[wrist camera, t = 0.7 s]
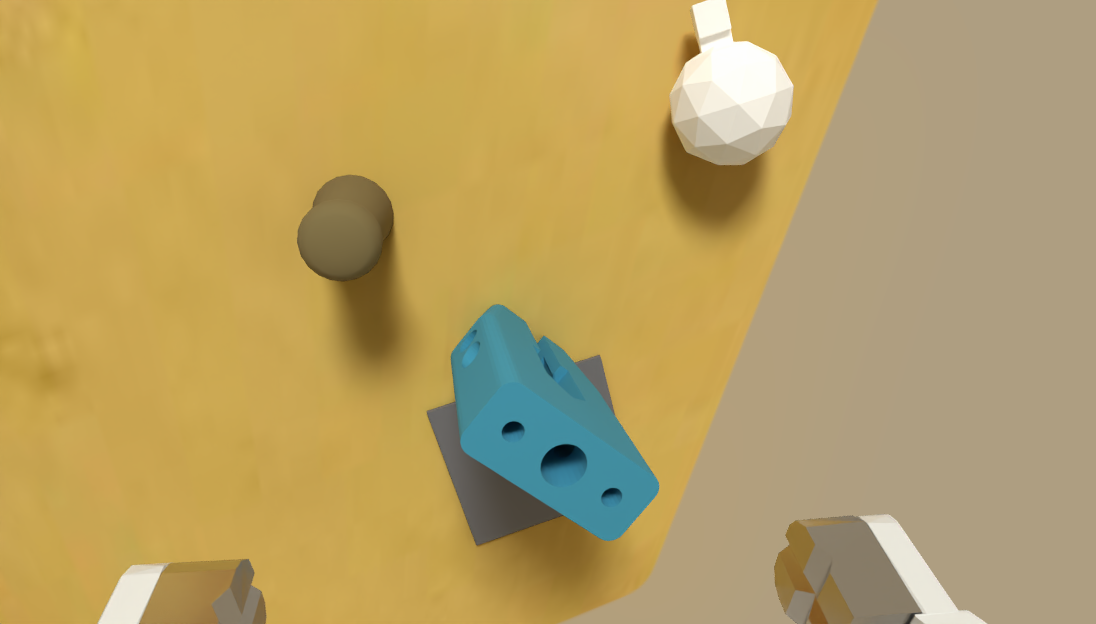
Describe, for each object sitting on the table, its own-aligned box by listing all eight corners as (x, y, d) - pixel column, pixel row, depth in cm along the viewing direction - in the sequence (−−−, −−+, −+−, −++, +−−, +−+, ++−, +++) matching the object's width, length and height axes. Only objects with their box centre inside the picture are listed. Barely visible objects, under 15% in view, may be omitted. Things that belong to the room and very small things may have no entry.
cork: (405, 237, 51) (403, 274, 40) (332, 263, 50) (311, 307, 40) (375, 163, 48) (365, 183, 38) (298, 190, 48) (267, 216, 38)
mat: (632, 488, 63) (633, 490, 62) (476, 542, 61) (476, 545, 61) (599, 354, 57) (600, 356, 57) (426, 410, 56) (426, 413, 55)
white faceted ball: (788, 145, 52) (757, -8, 50) (817, 151, 44) (781, -34, 41) (683, 175, 54) (647, 30, 51) (691, 187, 46) (648, 13, 43)
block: (442, 333, 54) (452, 445, 35) (479, 287, 53) (509, 375, 34) (550, 408, 58) (612, 546, 39) (585, 366, 57) (665, 484, 38)
